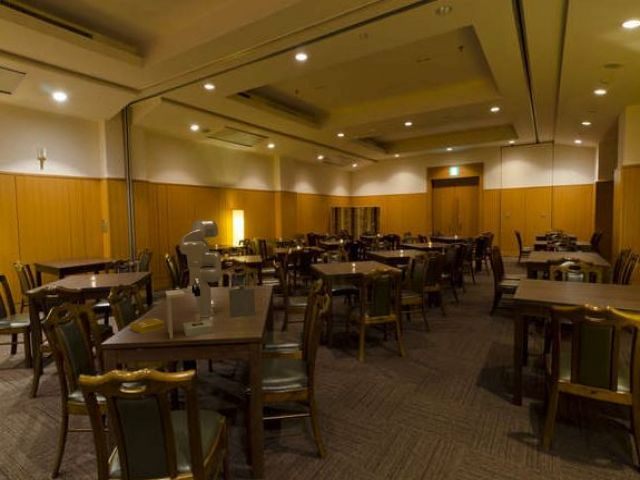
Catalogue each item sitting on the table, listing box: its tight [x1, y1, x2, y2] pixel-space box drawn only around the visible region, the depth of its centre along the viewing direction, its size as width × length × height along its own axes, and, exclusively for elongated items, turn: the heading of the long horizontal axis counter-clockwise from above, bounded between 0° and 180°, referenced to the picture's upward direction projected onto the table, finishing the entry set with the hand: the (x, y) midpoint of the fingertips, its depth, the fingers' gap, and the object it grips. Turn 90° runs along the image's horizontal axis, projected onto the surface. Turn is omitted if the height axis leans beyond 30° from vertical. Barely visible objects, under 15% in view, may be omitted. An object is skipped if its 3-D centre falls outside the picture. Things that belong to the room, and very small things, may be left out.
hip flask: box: [228, 284, 256, 318], centre depth 248 cm, size 16×4×20 cm, turn 103°
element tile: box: [129, 317, 166, 334], centre depth 225 cm, size 15×15×5 cm
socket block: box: [165, 289, 213, 340], centre depth 214 cm, size 14×22×24 cm, turn 115°
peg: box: [192, 309, 202, 326], centre depth 216 cm, size 4×4×12 cm
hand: (196, 294), depth 216 cm, fingers open, 9 cm apart
